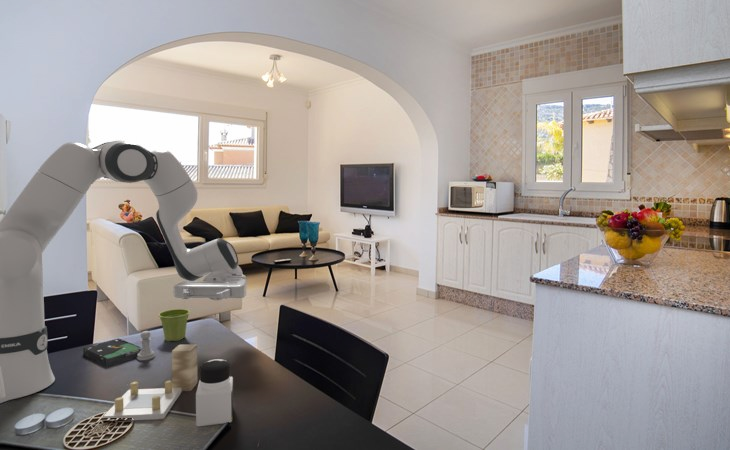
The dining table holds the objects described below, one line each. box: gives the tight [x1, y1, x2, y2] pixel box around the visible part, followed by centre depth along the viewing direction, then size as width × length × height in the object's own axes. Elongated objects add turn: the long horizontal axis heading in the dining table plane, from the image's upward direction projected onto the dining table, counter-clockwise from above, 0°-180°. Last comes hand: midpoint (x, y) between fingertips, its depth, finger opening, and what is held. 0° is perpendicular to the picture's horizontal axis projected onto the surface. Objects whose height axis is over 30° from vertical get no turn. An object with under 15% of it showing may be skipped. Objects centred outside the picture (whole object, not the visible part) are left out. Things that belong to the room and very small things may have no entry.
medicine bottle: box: [195, 358, 234, 428], centre depth 89 cm, size 7×7×12 cm
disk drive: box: [82, 337, 142, 367], centre depth 122 cm, size 10×3×15 cm
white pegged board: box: [102, 380, 182, 421], centre depth 93 cm, size 12×12×4 cm
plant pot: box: [158, 308, 191, 342], centre depth 137 cm, size 9×9×9 cm
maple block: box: [171, 344, 198, 392], centre depth 103 cm, size 4×4×10 cm
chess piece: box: [136, 330, 156, 362], centre depth 120 cm, size 5×5×8 cm
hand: (201, 296), depth 114 cm, fingers open, 8 cm apart
